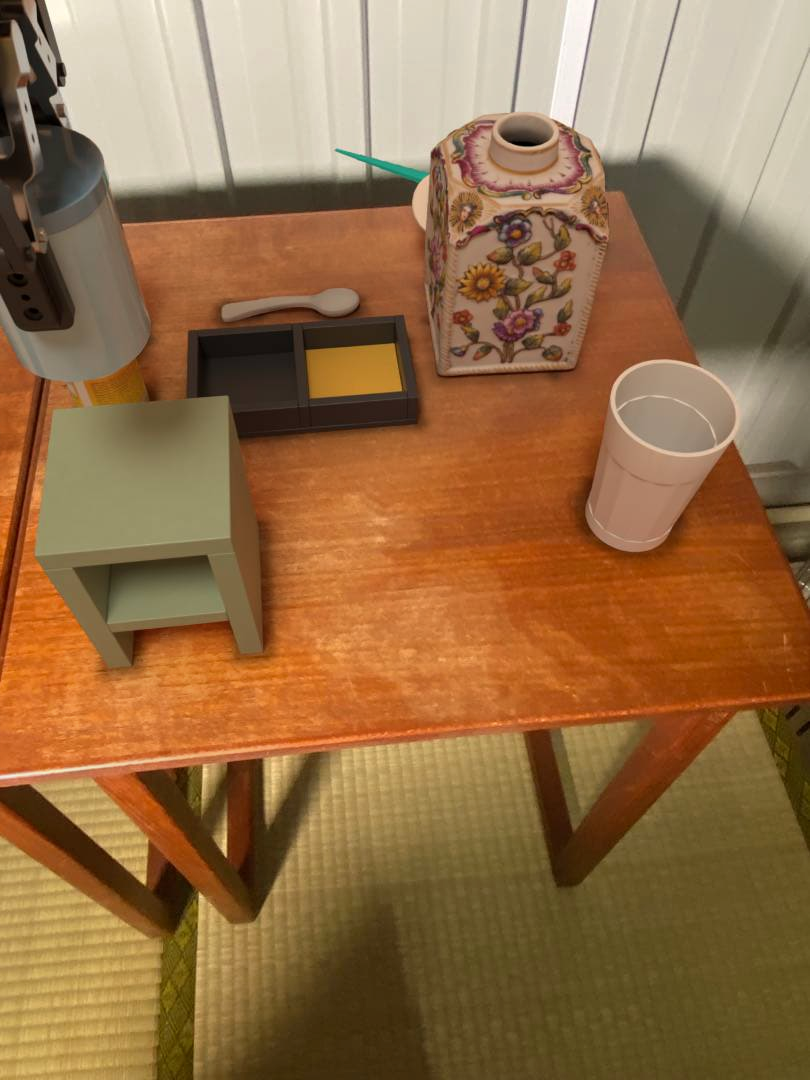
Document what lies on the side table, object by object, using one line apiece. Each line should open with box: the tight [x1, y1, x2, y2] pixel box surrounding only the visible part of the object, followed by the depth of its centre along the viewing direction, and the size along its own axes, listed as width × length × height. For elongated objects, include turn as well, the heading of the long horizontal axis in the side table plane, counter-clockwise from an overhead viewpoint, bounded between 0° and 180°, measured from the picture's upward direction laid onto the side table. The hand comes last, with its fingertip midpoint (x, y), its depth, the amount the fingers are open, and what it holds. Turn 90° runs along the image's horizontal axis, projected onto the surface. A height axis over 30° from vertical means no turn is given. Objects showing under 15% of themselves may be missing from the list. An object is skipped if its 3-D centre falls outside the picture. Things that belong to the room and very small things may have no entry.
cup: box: [584, 358, 741, 553], centre depth 57 cm, size 8×8×12 cm
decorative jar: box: [423, 111, 611, 377], centre depth 65 cm, size 12×12×18 cm
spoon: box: [221, 287, 361, 323], centre depth 73 cm, size 3×12×2 cm, turn 96°
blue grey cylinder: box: [0, 124, 152, 383], centre depth 34 cm, size 6×6×8 cm
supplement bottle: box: [65, 357, 151, 408], centre depth 63 cm, size 5×5×10 cm
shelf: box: [33, 396, 264, 670], centre depth 52 cm, size 10×10×14 cm
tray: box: [186, 314, 419, 440], centre depth 67 cm, size 17×9×3 cm, turn 97°
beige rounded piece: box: [411, 174, 430, 233], centre depth 75 cm, size 5×5×10 cm
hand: (56, 266), depth 35 cm, fingers closed on blue grey cylinder, 6 cm apart
